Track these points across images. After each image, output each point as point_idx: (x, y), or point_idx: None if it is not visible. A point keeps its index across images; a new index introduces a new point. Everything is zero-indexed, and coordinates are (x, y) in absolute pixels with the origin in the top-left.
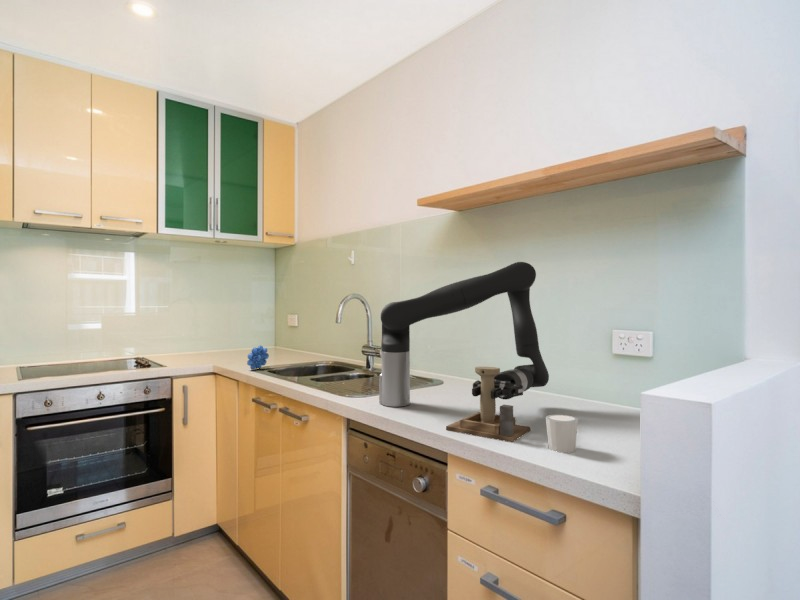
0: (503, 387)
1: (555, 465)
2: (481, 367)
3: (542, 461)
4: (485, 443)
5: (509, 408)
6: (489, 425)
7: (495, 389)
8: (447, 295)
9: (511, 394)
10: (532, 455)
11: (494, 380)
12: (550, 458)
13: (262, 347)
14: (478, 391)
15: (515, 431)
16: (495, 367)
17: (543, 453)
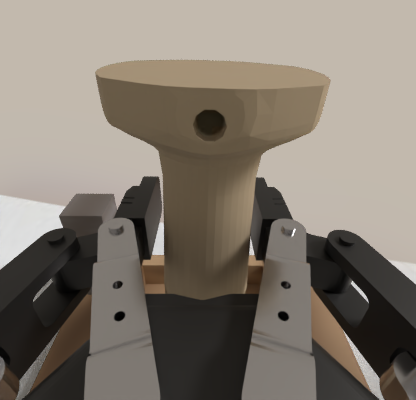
0: (100, 230)
1: (4, 208)
2: (272, 73)
3: (26, 212)
4: (158, 239)
5: (75, 198)
6: (163, 256)
7: (141, 186)
8: None
9: (51, 313)
10: (43, 227)
11: (250, 346)
12: (3, 229)
13: None
14: (252, 216)
15: (80, 335)
16: (156, 83)
17: (12, 245)
